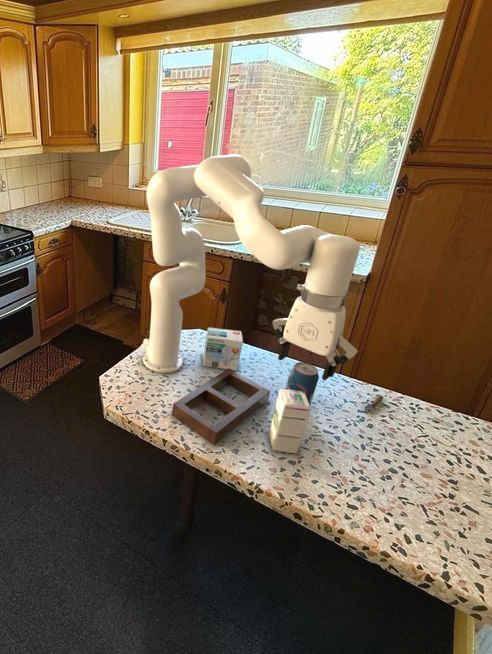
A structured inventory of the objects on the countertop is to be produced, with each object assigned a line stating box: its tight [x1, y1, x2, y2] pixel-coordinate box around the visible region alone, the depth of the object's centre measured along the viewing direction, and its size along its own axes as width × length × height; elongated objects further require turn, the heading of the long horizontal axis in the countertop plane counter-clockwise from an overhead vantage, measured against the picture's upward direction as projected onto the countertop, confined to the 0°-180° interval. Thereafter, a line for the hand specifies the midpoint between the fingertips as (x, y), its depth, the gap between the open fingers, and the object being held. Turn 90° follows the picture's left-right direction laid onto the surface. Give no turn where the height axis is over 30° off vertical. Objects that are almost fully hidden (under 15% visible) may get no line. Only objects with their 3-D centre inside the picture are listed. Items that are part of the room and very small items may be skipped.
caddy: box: [171, 368, 271, 446], centre depth 108 cm, size 14×25×4 cm, turn 129°
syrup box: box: [268, 388, 311, 454], centre depth 95 cm, size 6×6×14 cm
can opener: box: [364, 395, 383, 412], centre depth 110 cm, size 9×2×1 cm, turn 123°
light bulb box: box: [202, 327, 244, 372], centre depth 126 cm, size 11×7×11 cm, turn 76°
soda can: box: [284, 361, 320, 407], centre depth 108 cm, size 7×7×12 cm
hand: (303, 367), depth 88 cm, fingers open, 9 cm apart
